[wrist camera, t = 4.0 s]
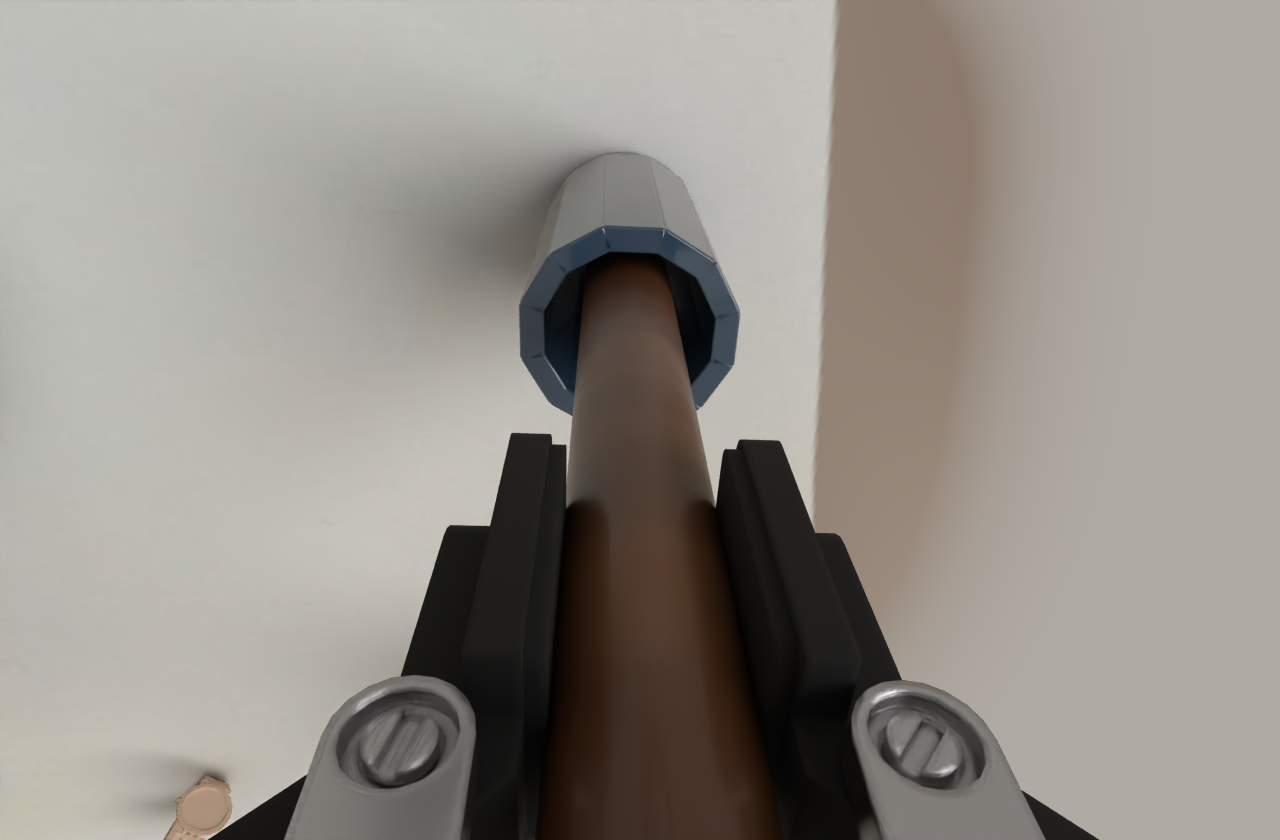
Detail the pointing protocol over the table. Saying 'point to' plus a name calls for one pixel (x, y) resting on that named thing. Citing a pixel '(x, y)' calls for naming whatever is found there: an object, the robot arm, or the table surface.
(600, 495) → the stirring stick
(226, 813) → the tan wristwatch
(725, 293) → the holder
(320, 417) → the table surface
